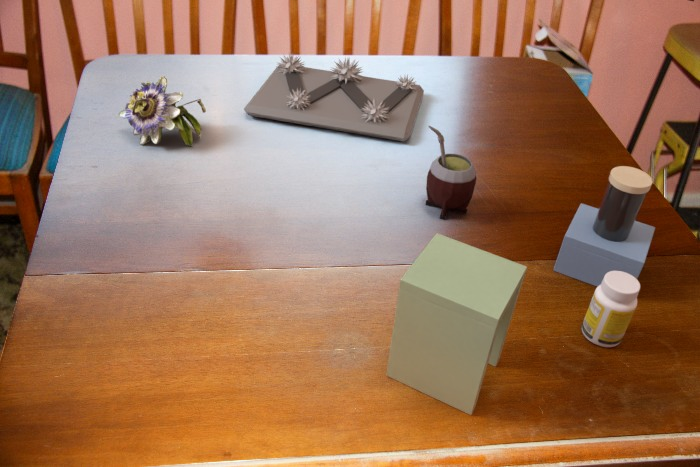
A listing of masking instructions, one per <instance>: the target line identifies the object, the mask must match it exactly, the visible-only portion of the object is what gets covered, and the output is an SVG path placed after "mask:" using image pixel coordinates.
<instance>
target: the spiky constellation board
mask: <svg viewBox="0 0 700 467" xmlns="http://www.w3.org/2000/svg"><path fill="white" fill-rule="evenodd" d="M279 59H280V62H279V61H278V62H277V61H276V63H277V64H276V65H277V66H275V67H276V68H274V70H273V71H272V73H271V74H270V75H268V77H267V79H266V80H265V81H264V82H263V84H262V85H261V86H260V88H259V89H258V90H257V91H256V92H255V94H254V95H253V96H252V97H251V99H250V100H249V102H248V103H247V104H246V105H245V107H244V108H243V110H244V112H245V113H246V114H247V115H248V116H250V117H255V118H261V119H267V120H272V121H280V122H284V123H285V122H286V123H292V124H298V125H302V126H309V127H314V128H320V129H327V130H332V131H338V132H345V133H351V134H357V135H363V136H369V137H373V138H380V139H386V140H393V141H396V142H397V141H398V142H405V141H407V140H409V139H410V138H411V135H412V133H413V129H414V126H415V122H416V119H417V116H418V112H419V109H420V105H421V103H422V99H423V96H424V92H425V89H423V88H422V86H421V85H420V84H417V82H418V81H417V80H415V81H414V79H415V77H413V76H410V77H408V76H409V75H408V74H406V75H404V76H402V75H401V74H400V76H399V77H397V78H398V80H396V81H395V80H390V79H383V78H378V77H370V76H366V75H365V76H364V75H362V74H361V73H362V70H363V66H360V67H358V66H359V61H357V62H356V59H354V60H353V61H352V62H351V61H350V57H348V58H347V57H346V56H344V61H343V62H342V60H341V59H340V58H339V57H338V60H337V61H338V62H336V61H335V60H334V63H335V65H334V67H331V66H330V69H329V70H327V69H320V68H313V67H307V66H305V61H302V59H301V57H299V56H298V55H296V56H295V57H294V54H291V53H288V56H285V54H284V53H283V58H282V57H279Z"/></svg>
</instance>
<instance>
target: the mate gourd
mask: <svg viewBox="0 0 700 467" xmlns="http://www.w3.org/2000/svg"><path fill="white" fill-rule="evenodd" d="M427 126H428V128H429V129H430V130H431V131H432V132H434V133H435V135H436V136H437V141H438V143H439V149H440V155H439V156H437V157H436V158H435V159H434V160H432V163H431V165H430V167H429V170H428V172H427V175H426V186H425V188H426V197H427V199H426V200H425V205H426V206H429V207H433V208H437V209H441V211H440V215H439V219H440V220H443V221H445V220H446V217H447V215H448V212H449V211H450V212H455V213H459V214H464V215H466V214H467V212H468V206H469V204H470V203H471V200H472V198H473V195H474V192H475V188H476V184H477V170H476V168H475V165H474V164H473V162H472V160H470V159H469V157H467V156H464V155H462V154H458V153H446V150H445V137H444V135H443V134H442V133H441V132H440V130H439V129H437V128H435V127H433V126H431V125H427Z"/></svg>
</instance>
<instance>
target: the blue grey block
mask: <svg viewBox="0 0 700 467" xmlns="http://www.w3.org/2000/svg"><path fill="white" fill-rule="evenodd" d="M598 210H599V208H598V207H594V206H592V205H588V204H585V203H580V204H579V206H578V208H577V209H576V213H575V214H574V215H573V218H572V220H571V222H570V224H569V226H568V228H567V230H566V232H565V234H564V237H563V240H562V242H561V246H560V248H559V251H558V254H557V257H556V261H555V263H554V266H553V271H554V272H555V273H559V274H561V275H564V276H567V277H570V278H572V279H575V280H577V281H581V282H583V283H586V284H589V285H591V286H594V287H596V288H597V287H598V286H599V285H601V283H602V281H603V278H604V276H605V274H606V273H608V272H610V271H622V272H626V273H628V274H630V275H632V276H634V277H635V278H636V279H637V280H638V279H639V277H640V274H641V272H642V270H643V267H644V265H645V263H646V260H647V256H648V252H649V250H650V246H651V243H652V240H653V236H654V233H655V230H656V227H655V226H652V225H649V224H647V223H643V222H640V221H637V220H635V222H634V225H633V227H632V230H631V232H630V234H629V237H628V238H627V239H626V240H625V241H621V242H614V241H609V240H606V239H604V238H602V237H600V236H598V235H597V234H596V233H595V232H594V230H593V224H594V221H595V218H596V216H597V213H598Z"/></svg>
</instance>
